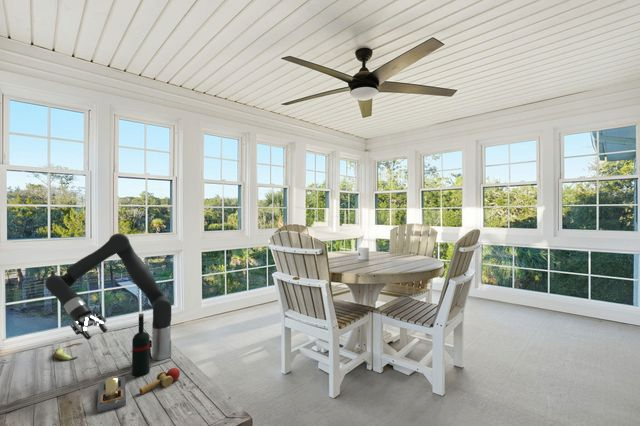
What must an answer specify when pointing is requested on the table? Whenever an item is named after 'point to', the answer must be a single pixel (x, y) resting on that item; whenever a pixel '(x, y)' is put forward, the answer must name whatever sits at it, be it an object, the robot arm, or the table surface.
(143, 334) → the wine bottle
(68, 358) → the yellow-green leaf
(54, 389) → the table surface
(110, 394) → the brass peg
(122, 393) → the grey flat frame
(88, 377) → the table surface
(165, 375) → the kendama
